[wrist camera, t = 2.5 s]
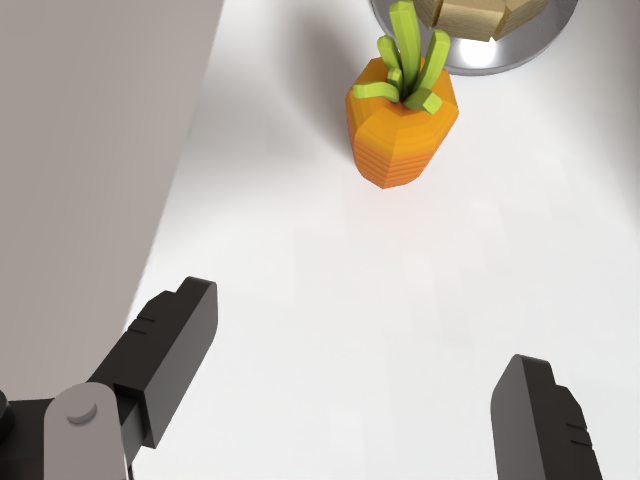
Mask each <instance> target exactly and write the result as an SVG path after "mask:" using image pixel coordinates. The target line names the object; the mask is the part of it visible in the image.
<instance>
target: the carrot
mask: <svg viewBox="0 0 640 480" xmlns="http://www.w3.org/2000/svg"><path fill="white" fill-rule="evenodd" d="M389 14H390V18H391V22H392V26H393V30H394V33H395V37H396V40H397V43H398V46H399V50H400V53H399V51H398V48H397V46H396V43H395V40H394V38H393V37H390V36H387V35H385V36H382V37H380V38H379V39H378V41H377V44H378V50H379V52H380V54H381V57H379V58H375V59H371V61H370V62H369V64H368V65H367V67H366V68H365V69H364V71H363V72H362V74H361V75H360V77H359V78H358V79H357V81H356V82H355V84H354V85H353V87H352V88H351V89H350V91H349V92H348V94H347V95H346V112H347V122H348V130H349V136H350V140H351V145H352V149H353V154H354V159H355V163H356V166H357V168H358V170H359V172H360V173H361V175H362V176H363V177H364V178H366V179H367V180H369V181H371V182H372V183H374V184H375V185H377V186H379V187H380V188H382V189H385V188H390V187H395V186H400V185H405V184H407V183H409V182H411V181H413V180H414V179H416V178H417V177H419V175H420V174H421V173H422V171H423V170H424V168H425V167H426V166H427V164H428V163H429V161H430V160H431V158H432V157H433V155H434V154H435V152H436V150H437V149H438V147H439V146H440V144H441V143H442V141H443V140H444V138H445V137H446V135H447V134H448V132H449V131H450V129H451V127H452V126H453V124H454V122H455V121H456V119H457V117H458V114H459V111H458V106H457V102H456V99H455V95H454V91H453V87H452V84H451V80H450V76H449V73H448V70H446V69H444V68H443V66H444V63H445V61H446V58H447V54H448V51H449V48H450V37H449V36H448V34H447V33H445V32H444V31H442V30H441V29H434V31H433V34H432V37H431V41H430V44H429V48H428V51H427V55H426V58H425V57H423V56H421V38H420V32H419V26H418V20H417V16H416V12H415V8H414V5H413V1H410V0H400V1H397V2H395V3H393V4H391V5H390V8H389Z"/></svg>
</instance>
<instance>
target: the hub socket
mask: <svg viewBox="0 0 640 480" xmlns="http://www.w3.org/2000/svg"><path fill="white" fill-rule="evenodd" d="M371 1H372V5H373V9H374V12H375V15H376V17H377V20H378V22H379V24H380V26H381V28H382V29H383V31H384V32H385V34H386V35H387V36H390V37H393V38H394V40H395V43H396V46H397V48H399V46H398V43H397V40H396V37H395V33H394V30H393V26H392V22H391V18H390V14H389V8H390V5H391V4H393V3H395V2H397V1H400V0H371ZM410 1H413V5H414V8H415V12H416V16H417V20H418V26H419V32H420V38H421V56H423V57H425V58H426V55H427V51H428V48H429V44H430V41H431V37H432V34H433V31H434V29H441V30H442V31H444V32H445V33H447V34H448V36H449V37H450V48H449V51H448V54H447V58H446V61H445V63H444V66H443V68H444V69H446V70H448V73H449V74H452V75H460V76H485V75H493V74H497V73H501V72H505V71H509V70H511V69H514V68H516V67H519V66H521V65H523V64H525V63H527V62H529V61H530V60H532V59H533V58H535V57H536V56H538V55H539V54H540V53H542V52H543V51H544V50H545V49H546V48H547V47H548V46H549V45H550V44H551V43H552V42H553V41H554V40H555V38H556V37H557V36H558V35H559V34H560V32H561V31H562V29H563V28H564V27H565V25H566V24H567V22H568V21H569V19H570V17H571V16H572V14H573V12H574V9H575V7H576V4H577V2H578V0H410Z"/></svg>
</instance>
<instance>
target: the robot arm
mask: <svg viewBox="0 0 640 480" xmlns="http://www.w3.org/2000/svg"><path fill="white" fill-rule="evenodd" d="M217 325H218V304H217V284H216V283H215V282H212V281H208V280H204V279H199V278H195V277H191V276H188V277H187V278H186V279H185V280H184V281H183V283H182V284H181V286H180V287H179V288H178V290H177V291H176V293H174V292H170V291H166V290H165V291H163V292H162V293H160V294H159V295H157V296H156V297H154V298H153V299H151V300H150V301H148V302H147V304H146V305H145V306H144V308H143V309H142V310H141V312H140V313H139V314H138V316H137V319H135V320H134V321H133V322H132V323H131V325H130V326H129V327H128V330H127V332H126V331H125V333H124V334H123V335H122V337H121V338H120V339H119V341H118V342H117V343H116V345H115V346H114V347H113V349H112V350H111V351H110V352H109V354H108V355H107V356H106V358H105V359H104V360H103V362H102V363H101V364H100V366H99V367H98V368H97V370H96V371H95V372H94V374H93V375H92V376H91V377H90V378H89V380H88V381H86V382H85V383H82V384H78V385H75V386H72V387H70V388H68V389H66V390H65V391H64V392H62V393H60V394H59V395H58V396H57V397H56V398H52V399H40V400H21V401H7V399H6V396H5V395H4V393H3V392H2V391H1V390H0V480H135V475H134V468H133V460H134V458H135V456H136V454H137V453H138V451H139V449H140V447H141V446H146V447H149V448H153V449H156V447H157V445H158V443H159V441H160V440H161V438H162V436H163V434H164V432H165V430H166V428H167V426H168V424H169V423H170V421H171V419H172V417H173V415H174V413H175V411H176V409H177V408H178V406H179V404H180V402H181V400H182V398H183V396H184V394H185V393H186V391H187V389H188V387H189V385H190V383H191V381H192V379H193V378H194V376H195V374H196V372H197V370H198V368H199V366H200V364H201V362H202V361H203V359H204V357H205V355H206V353H207V351H208V349H209V347H210V346H211V344H212V342H213V339H214V337H215V334H216V330H217ZM491 421H492V430H493V438H494V447H495V456H496V465H497V474H498V480H603V479H602V475H601V472H600V469H599V465H598V462H597V459H596V456H595V452H594V450H592V442H591V439H590V436H589V432H587V426H586V422H585V419H584V416H583V412H582V409H581V407H580V405H579V404H578V402H577V401H576V400H575V398H574V397H573V395H572V394H571V392H570V391H569V390H568V388H567V387H564V386H560V385H556V383H555V380H554V376H553V372H552V368H551V365H550V363H549V362H548V361H545V360H541V359H537V358H533V357H528V356H524V355H520V354H515V355H514V356H513V357H512V359H511V361H510V362H509V364H508V366H507V368H506V369H505V371H504V373H503V375H502V376H501V378H500V380H499V382H498V383H497V385H496V387H495V389H494V391H493V394H492V399H491Z"/></svg>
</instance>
